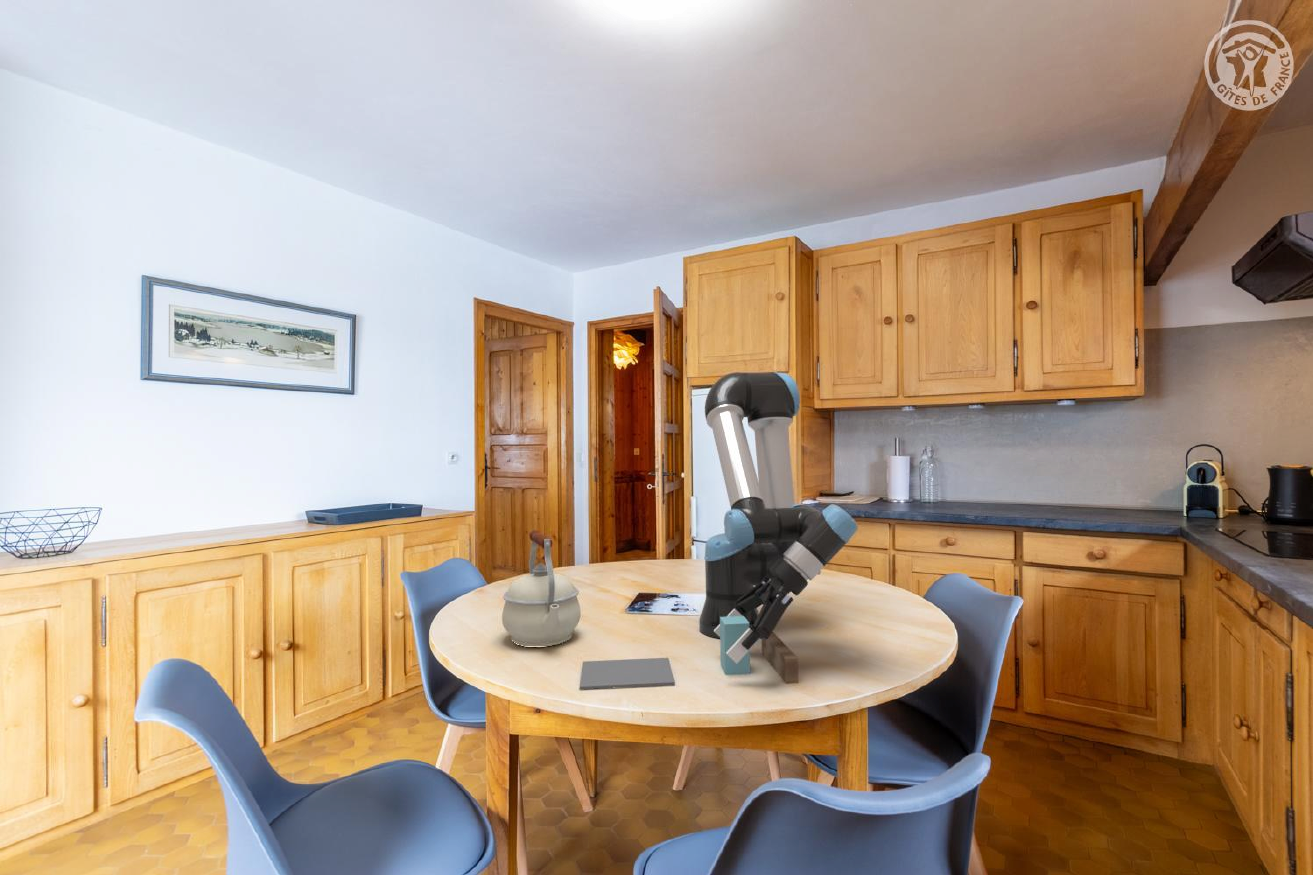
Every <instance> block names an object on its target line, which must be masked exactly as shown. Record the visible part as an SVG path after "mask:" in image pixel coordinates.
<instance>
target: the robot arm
mask: <svg viewBox="0 0 1313 875" xmlns="http://www.w3.org/2000/svg"><path fill="white" fill-rule="evenodd" d="M800 395H801V394H800V390H799V387H798V383H797V382H796V380H795V379H794V378H793V377H792V376H791V375H790V374H788V373H785V372H776V371H770V372H768V371H767V372H741V371H740V372H738V371H736V372H730V373H726V374H724V375H723V376H722V377H720V378H719V379H718V380H716V382H715V383H714V384H713V385H712V386H711V388H710V389H709V391H708V393H707V395H706V400H705V402H704V415H705V416H704V417H705V420H706V424H707V425H708V427H709V428H711V429H712V433H713V438H714V442H715V446H716V451H717V454H718V459H719V463H720V468H721V471H722V472H721V473H722V476H723V479H724V484H725V488H726V493H727V497H728V502H729V505H730V509H729V510H727V511H726V512H725V515H724V519H723V525H724V532H723V533H718V534H716V535H713V536H711V537H710V538H708V540H707V541H706V542H705V548H704V549H705V550H704V560H705V561H704V563H705V564H704V566H705V570H704V571H705V572H704V574H705V599H704V603H703V606H702V610H701V613H700V617H699V619H698V620H699V621H698V622H699V623H698V625H699V631H700V632H701V634H703V635H705V636H709V637H711V638H717V639H720V617H730V616H744V617H745V618H746V620H747V621H748V622H749V628H748V630H747V631H746V632H745V633H744V634H743V635H742V636H741V637H740V638H739V639H738V640H737V641H736V643H735V644H734V645H733V646H732V647H731V648H730V649H729V650H728V651H727V652H726V654H727V655H728V656H729V657H730V658H731V659H732V660H733V661H734V662H735V663H736V664H737V663H738V662H739V661H740V660H741V659H742V658H743V657H744V655H745V654H746V653H747V652H748V651H749V650H750V651H751V649H752V648H753V647H754V646H755V645H756V644H757V643H758V642H759V641H760V639H761V640H762V638H764V639H768V638H769V636H770V635H771V633H772V632H774V630H775V628H776V626H777V624H778V623H779V622H780V620H781V618H782V617H783V615H784V614H785V612H786V610H787V609H788V608H789V606H790V605H791V603H792V602H793V601H794V598H793V596H791V595H790V593H792V594H793V595H794V596H799V595H800V594H801V593H802V592H803V591H804V590H805V588H806V587H807V586H808V585H809V582H808V580H809V581H813V580H814V578H815V577H816V576H817V575H818V576H819V575H821V574H822V570H823V568H825V566H826V565H828V563H829V562H830V561H831V560H832V559H833V558H834V557H835V556H836V555H837V554H838V553H839V552H840V550H842V549H843V547H845V546H846V544H848V542H850V539H851V538H852V537H853V536H854V535H855V534H856V533H857V531H858V530H859V529H858V528H859V527H858V523H857V521H856V520H855V519H854V518H853V517H852V516H851V515H850V514H849V513H848V512H847V511H846V510H844V509H843V508H842V507H840V506H839V505H836V504H832V503H831V504H829V505H828V506H827V507H826V508H825V509H823V510H822V511H820V510H818V509H816V508H814V507H813V506H811V505H808V504H802V503H796V502H795V492H794V479H793V472H792V471H793V470H792V469H793V468H792V456H791V448H790V437H789V427H790V426H791V425H792V424H793V422H794V417H795V416H797V414H799V411H800V404H801V396H800ZM744 418H746V419H747V426H748V427H750V429H752V430H753V432H754V441H755V453H756V465H757V466H756V467H757V472H756V468H755V464H754V461H753V457H752V454H751V449H750V446H749V442H748V438H747V435H746V430H745V428H744V424H743V420H744ZM761 606H762V607H761ZM759 607H761V609H760V611H759V610H758V608H759Z"/></svg>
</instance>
